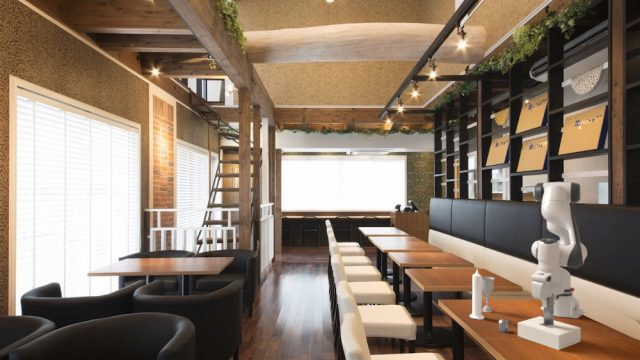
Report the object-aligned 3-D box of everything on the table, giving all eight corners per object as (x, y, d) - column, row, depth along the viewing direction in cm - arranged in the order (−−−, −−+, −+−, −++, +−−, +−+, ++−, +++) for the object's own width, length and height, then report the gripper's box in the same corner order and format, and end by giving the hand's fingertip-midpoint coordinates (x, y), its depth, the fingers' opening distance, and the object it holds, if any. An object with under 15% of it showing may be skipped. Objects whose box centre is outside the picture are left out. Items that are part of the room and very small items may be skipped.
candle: (485, 320, 202) (485, 270, 202) (470, 319, 203) (471, 270, 203) (482, 315, 209) (483, 268, 209) (468, 314, 210) (468, 267, 210)
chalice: (493, 309, 219) (494, 277, 219) (495, 313, 212) (495, 279, 212) (479, 308, 221) (479, 276, 221) (480, 312, 215) (480, 278, 215)
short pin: (502, 329, 189) (502, 318, 189) (510, 331, 186) (510, 321, 186) (497, 330, 187) (497, 319, 187) (504, 333, 184) (504, 322, 184)
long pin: (546, 321, 180) (546, 290, 181) (555, 324, 177) (555, 292, 177) (541, 323, 178) (541, 292, 179) (550, 326, 175) (550, 294, 175)
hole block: (539, 328, 190) (539, 316, 190) (580, 341, 175) (580, 327, 175) (517, 335, 181) (517, 322, 181) (558, 350, 165) (558, 335, 165)
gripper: (554, 271, 186) (554, 300, 186) (528, 276, 175) (528, 307, 175) (568, 273, 181) (568, 304, 181) (543, 279, 170) (543, 311, 170)
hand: (548, 306), depth 178 cm, fingers closed on long pin, 4 cm apart
